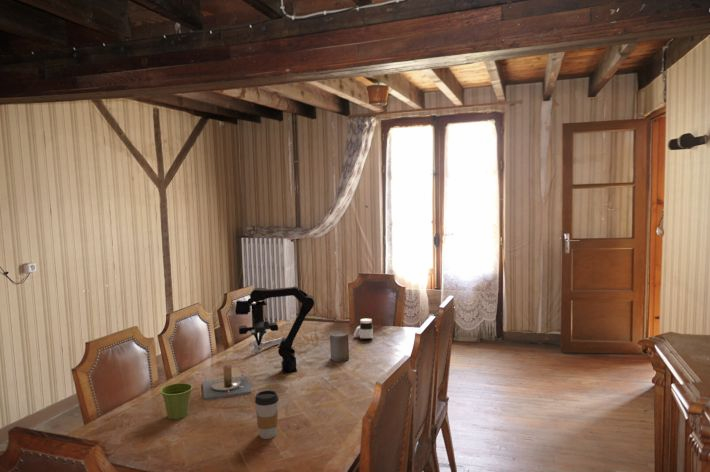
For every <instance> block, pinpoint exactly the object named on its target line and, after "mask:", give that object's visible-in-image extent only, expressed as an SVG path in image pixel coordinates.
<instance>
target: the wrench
mask: <svg viewBox="0 0 710 472" xmlns="http://www.w3.org/2000/svg"><path fill="white" fill-rule="evenodd" d="M282 338H283V337H279V338H275V339H270V340H267V341H263V342H262V341H261V343H260V346H258V344H257V342H256V339H253V340H251V341H250V342H249V344H248V347H249V348H253V349H251V351H250V354H255V355H259V354H260V352H261V351H262V350H263V349H264V348H265V349H266V348H268V347H272V346H276V345H279V344H280V343H281V341H282ZM253 346H254V347H253Z"/></svg>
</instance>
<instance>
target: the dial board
mask: <svg viewBox="0 0 710 472" xmlns="http://www.w3.org/2000/svg"><path fill="white" fill-rule="evenodd" d="M232 378H238V379H240V380H241V386H239V387H238V388H236V389H233V390H228V391H215V390H213V389H212V388H211V384H212V382H214V381H215V380H218V379H219V378H218V379H211V380H210V379H209V380H203V381H202V393H203V401H208V400H215V399H216V400H217V399H223V398H230V397H236V396H242V395H249V394H252V392H253V391H252V388H251V385H250V382H249V380H248V376H247V375H241V376H232Z"/></svg>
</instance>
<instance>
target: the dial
mask: <svg viewBox="0 0 710 472" xmlns="http://www.w3.org/2000/svg"><path fill="white" fill-rule="evenodd" d="M222 369H223V378H218V380H216V379H214V380H215V381H214V382H212V384H211V388H212V389H213V390H215V391H228V390H233V389H236V388H238V387H239V386H241V380H240V379H238V378H232V377H233V376H232V375H233V373H232V365H230V364H228V365H224V366H223V367H222Z"/></svg>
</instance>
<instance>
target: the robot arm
mask: <svg viewBox="0 0 710 472" xmlns="http://www.w3.org/2000/svg"><path fill="white" fill-rule="evenodd" d="M249 295H250V296H249V298H248V299H247V300H236V302H235V309H234V312H235V316H240V315H241V316H242V315H244V316H246V315H247V316H248V315H249V313H251V326H249V327H248V326H247V325H245V324H244V325H239V326H238V327H237V330H238V334H239V335H246V334H247V333H248V332H250V335H252V336H254V340H256V342H257V344H258V346H260V343H262V339H263V337H264V336H265V334H267V330H271V332H276V331H279V325H278V324H277V323H276V322H270V321H268V320H267V321H265V319H264V318H265V317H264V316H265V314H264V313H265V312H264V309H265V308H264V306H267V305H268V302H267V301H266V299H267V300H268V299H270V298H280V297H291V296H293V297H294V298H295V299H296V300H297V301H298V302H300V303H301V305H300V308H299V312H298V314H297V316H296V318H295V320H294V322H293V324H292V326H291V328H290V330H289V332H288V333H287V335H286V337H281V338H282V341H281V343H280V344H278V347H277V348H278V350H277V353H278V354H279V356H281V359H282V360H281V361H280V365H281V367H280V368H281V371H282V372H283V373H284V374H289V373H294V372H298V369H297V357H296V356H295V355H296V350H295V349H294V348H293V343H294V340H295V338H296V337H297V334H298V332H299V331H300V329H301V327H302V324H303V323H304V320H305V318H306V317H307V315H308V314H309V313H310V312H311V310H312V309H313V308H314V307H315V306H314V305H315V300H316V299H315V297H314V296H313V295H310V294H308V293H306V292H305V291H303V290H302V289H300V287H298V286H295V285H294V286H289V287H278V288H265V287H256V288H254V289H252V291H251V292H250V294H249Z"/></svg>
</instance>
